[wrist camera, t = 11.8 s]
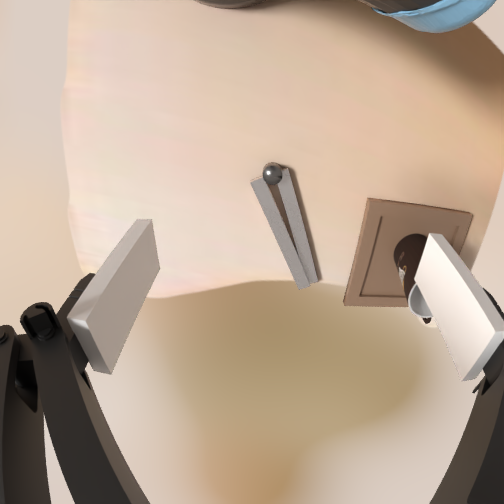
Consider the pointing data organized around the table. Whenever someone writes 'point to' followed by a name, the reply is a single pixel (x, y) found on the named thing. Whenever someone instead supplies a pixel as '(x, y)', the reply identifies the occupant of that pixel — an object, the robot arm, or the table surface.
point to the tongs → (300, 264)
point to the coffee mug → (412, 272)
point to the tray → (384, 242)
